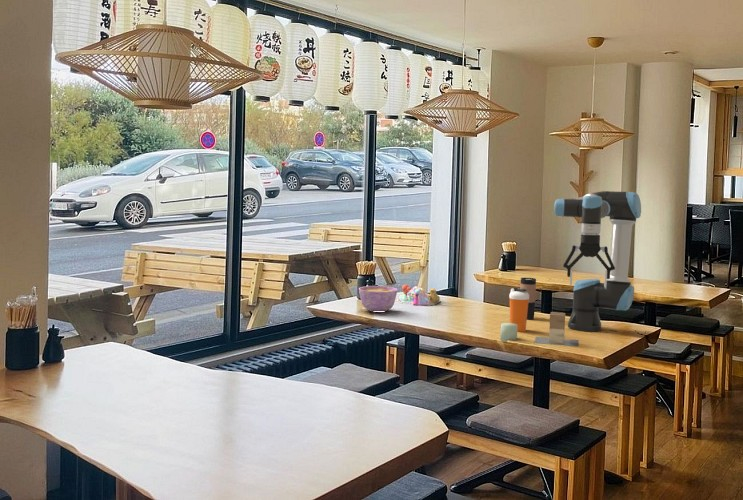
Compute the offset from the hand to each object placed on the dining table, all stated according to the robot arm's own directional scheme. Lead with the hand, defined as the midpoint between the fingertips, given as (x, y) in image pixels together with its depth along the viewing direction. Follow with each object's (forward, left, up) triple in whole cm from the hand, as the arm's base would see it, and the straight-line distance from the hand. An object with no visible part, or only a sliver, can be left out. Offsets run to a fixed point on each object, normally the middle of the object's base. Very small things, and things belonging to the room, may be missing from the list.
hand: (587, 285), depth 313 cm
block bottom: (-7, -12, -26) cm, 29 cm away
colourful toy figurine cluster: (-86, -90, -27) cm, 127 cm away
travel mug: (-60, -29, -27) cm, 72 cm away
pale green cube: (-6, -32, -27) cm, 42 cm away
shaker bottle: (-25, -30, -27) cm, 47 cm away
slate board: (-7, -12, -27) cm, 30 cm away
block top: (-7, -12, -20) cm, 24 cm away
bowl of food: (-49, -103, -27) cm, 117 cm away
